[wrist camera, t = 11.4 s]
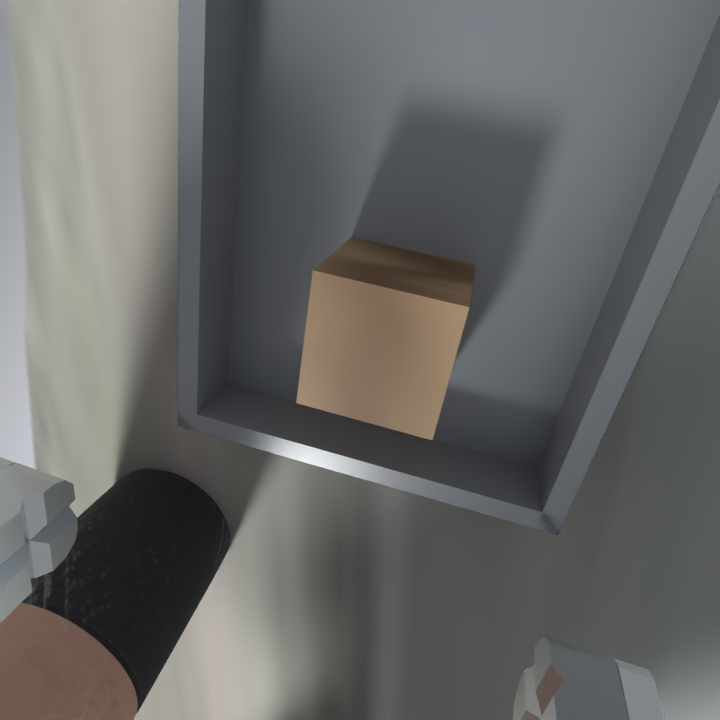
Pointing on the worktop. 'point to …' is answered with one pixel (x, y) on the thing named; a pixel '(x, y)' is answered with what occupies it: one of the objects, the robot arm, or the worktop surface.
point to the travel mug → (112, 603)
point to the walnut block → (383, 334)
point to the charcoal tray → (442, 216)
